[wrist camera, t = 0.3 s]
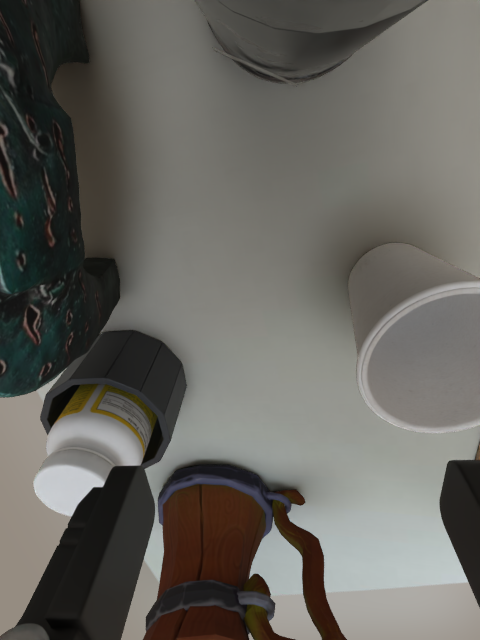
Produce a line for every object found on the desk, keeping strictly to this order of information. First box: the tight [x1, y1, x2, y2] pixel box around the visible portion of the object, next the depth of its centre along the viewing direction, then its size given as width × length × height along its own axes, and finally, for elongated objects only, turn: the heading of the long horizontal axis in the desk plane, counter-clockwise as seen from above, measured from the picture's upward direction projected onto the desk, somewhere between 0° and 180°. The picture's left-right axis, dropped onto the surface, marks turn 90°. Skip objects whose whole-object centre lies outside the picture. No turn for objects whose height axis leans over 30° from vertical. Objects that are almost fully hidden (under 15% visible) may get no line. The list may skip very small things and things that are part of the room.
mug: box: [143, 465, 347, 640], centre depth 31 cm, size 18×12×15 cm, turn 104°
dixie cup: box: [348, 243, 480, 433], centre depth 22 cm, size 8×8×10 cm
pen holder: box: [40, 330, 187, 469], centre depth 29 cm, size 9×9×6 cm
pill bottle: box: [34, 384, 158, 517], centre depth 26 cm, size 6×6×11 cm
